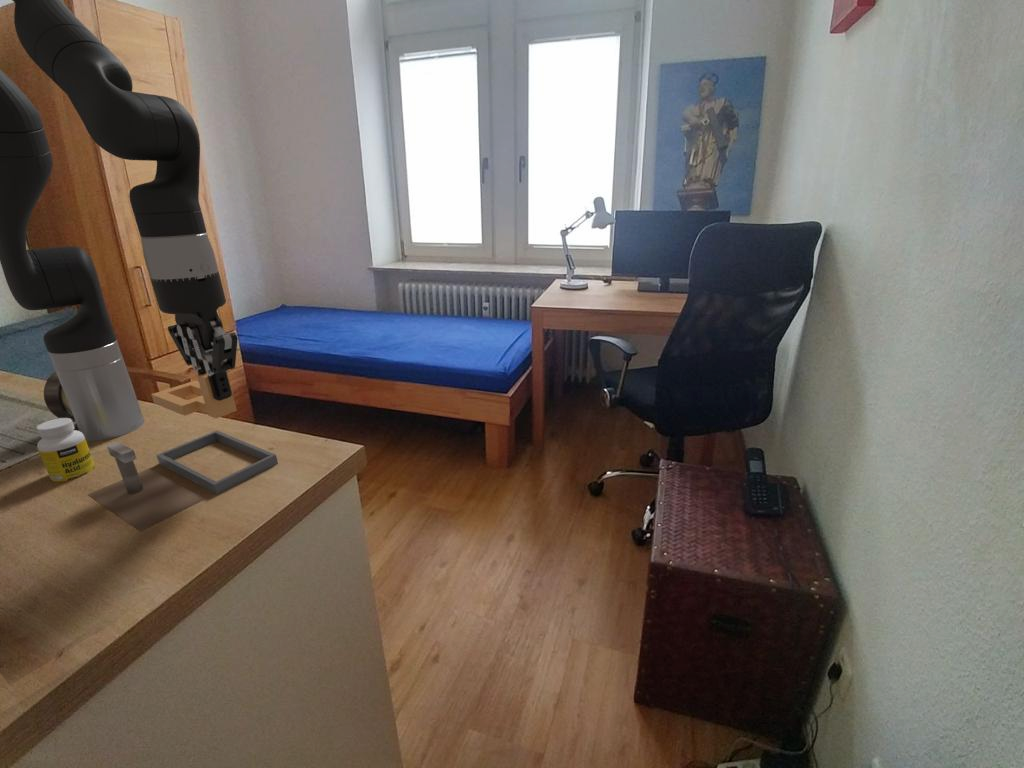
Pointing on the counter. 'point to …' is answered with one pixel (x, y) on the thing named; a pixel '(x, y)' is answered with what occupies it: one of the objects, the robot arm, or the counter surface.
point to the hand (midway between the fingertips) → (218, 396)
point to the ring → (195, 399)
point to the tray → (227, 482)
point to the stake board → (142, 493)
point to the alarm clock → (57, 399)
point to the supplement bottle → (64, 450)
